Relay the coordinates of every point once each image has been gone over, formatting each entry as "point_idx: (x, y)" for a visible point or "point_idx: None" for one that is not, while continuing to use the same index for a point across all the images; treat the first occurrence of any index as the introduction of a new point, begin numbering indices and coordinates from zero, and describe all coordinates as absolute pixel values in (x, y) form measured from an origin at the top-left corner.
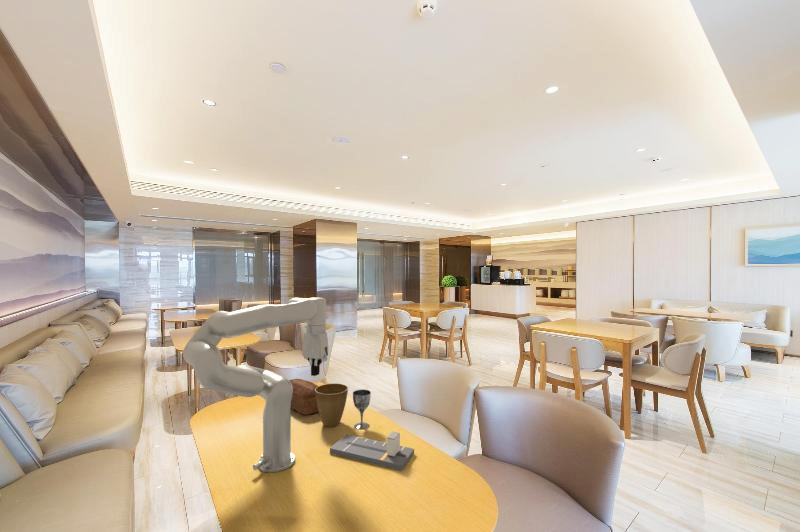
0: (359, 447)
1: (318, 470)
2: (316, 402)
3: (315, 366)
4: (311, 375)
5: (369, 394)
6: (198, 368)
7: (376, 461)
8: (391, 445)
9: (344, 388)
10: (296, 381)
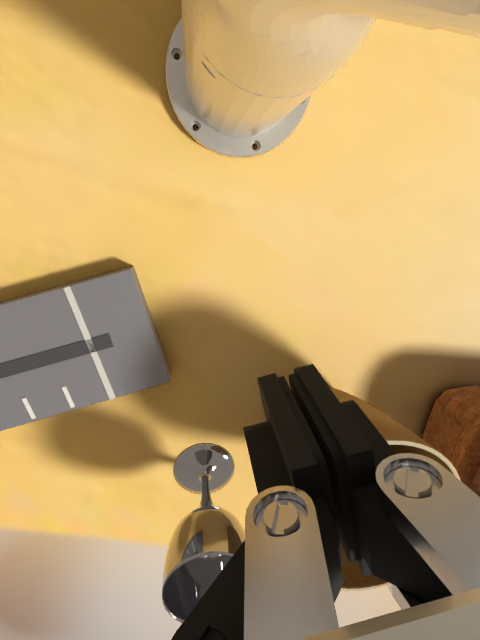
0: (42, 346)
1: (60, 154)
2: (446, 451)
3: (293, 487)
4: (308, 367)
5: (164, 602)
6: None
7: None
8: None
9: (344, 571)
10: None
